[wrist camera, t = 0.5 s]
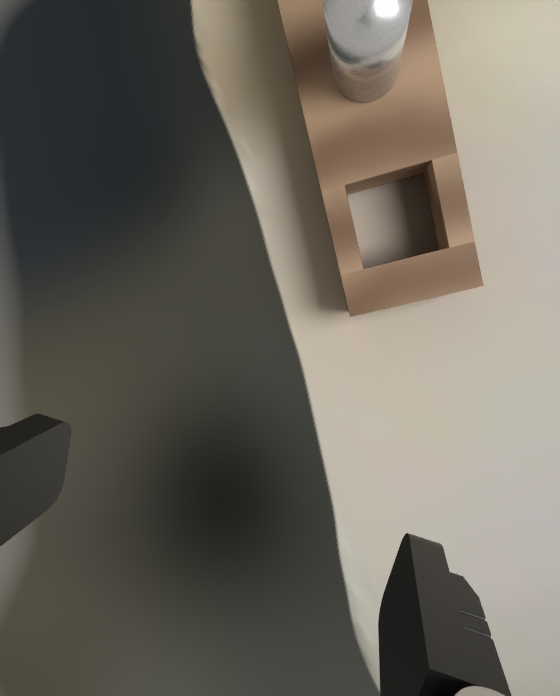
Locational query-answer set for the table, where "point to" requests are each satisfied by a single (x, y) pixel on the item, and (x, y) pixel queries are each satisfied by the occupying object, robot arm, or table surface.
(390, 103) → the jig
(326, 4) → the brushed metal cylinder
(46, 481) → the robot arm
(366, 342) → the table surface
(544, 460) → the table surface
